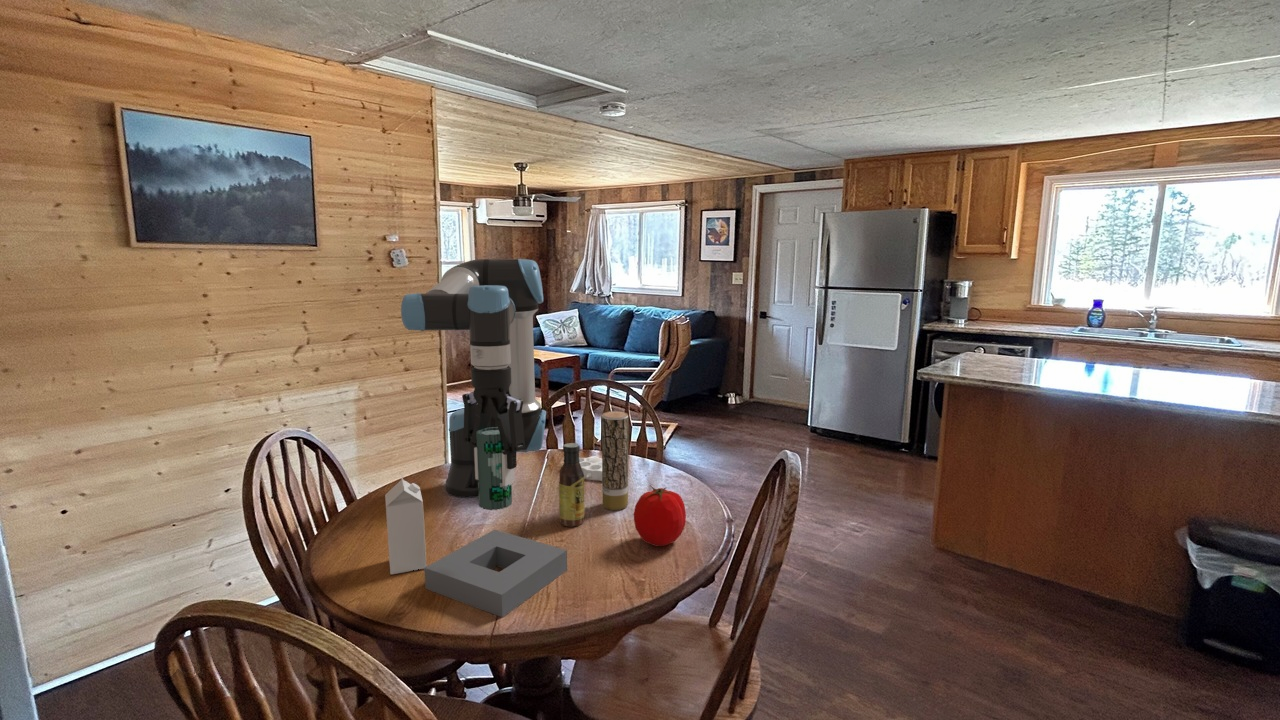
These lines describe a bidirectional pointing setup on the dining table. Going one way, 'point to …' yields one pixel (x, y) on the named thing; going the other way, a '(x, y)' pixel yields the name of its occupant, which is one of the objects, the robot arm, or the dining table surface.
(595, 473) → the white muffin tray
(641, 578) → the dining table surface
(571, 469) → the sauce bottle
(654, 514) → the tomato
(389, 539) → the milk carton
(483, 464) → the can
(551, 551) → the socket block
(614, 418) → the paper tube
